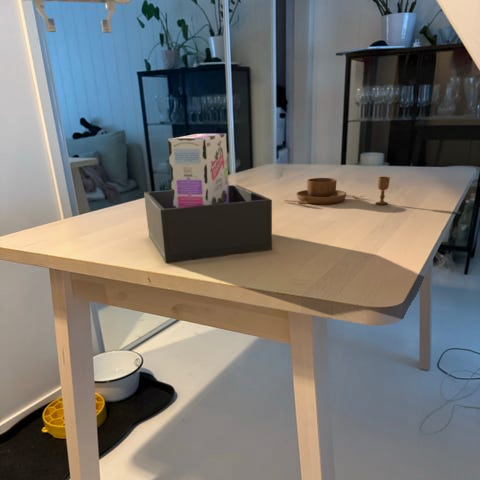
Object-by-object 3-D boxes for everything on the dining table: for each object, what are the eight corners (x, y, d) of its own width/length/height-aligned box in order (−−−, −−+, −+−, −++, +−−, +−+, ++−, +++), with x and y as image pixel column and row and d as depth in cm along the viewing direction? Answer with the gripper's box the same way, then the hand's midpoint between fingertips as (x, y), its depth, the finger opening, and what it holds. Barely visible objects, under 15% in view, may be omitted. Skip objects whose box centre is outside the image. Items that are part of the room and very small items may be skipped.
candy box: (211, 249, 72) (204, 137, 65) (175, 248, 73) (165, 137, 66) (231, 228, 84) (227, 131, 77) (200, 228, 85) (194, 132, 79)
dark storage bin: (165, 263, 70) (160, 210, 66) (149, 236, 85) (143, 192, 81) (272, 249, 75) (272, 199, 71) (238, 226, 90) (236, 184, 86)
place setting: (330, 192, 121) (331, 169, 118) (392, 203, 106) (395, 177, 103) (278, 201, 112) (278, 176, 110) (337, 214, 97) (338, 185, 94)
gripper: (-8, -79, 70) (14, 28, 75) (129, -69, 75) (139, 29, 81) (-2, -65, 75) (17, 33, 81) (125, -57, 81) (135, 35, 87)
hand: (79, 31), depth 81 cm, fingers open, 8 cm apart
